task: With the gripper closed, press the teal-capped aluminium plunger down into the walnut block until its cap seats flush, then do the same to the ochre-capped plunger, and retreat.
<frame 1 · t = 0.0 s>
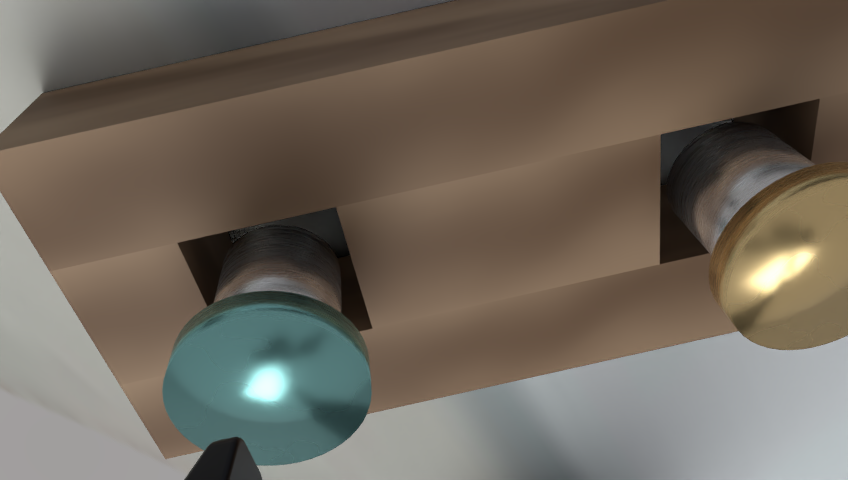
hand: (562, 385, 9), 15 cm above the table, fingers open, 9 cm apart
plunger teal: (276, 328, 19), point 6 cm above the table, slide at 3.5 cm
plunger ochre: (769, 218, 19), point 6 cm above the table, slide at 3.5 cm
walnut block: (479, 170, 24), on the table
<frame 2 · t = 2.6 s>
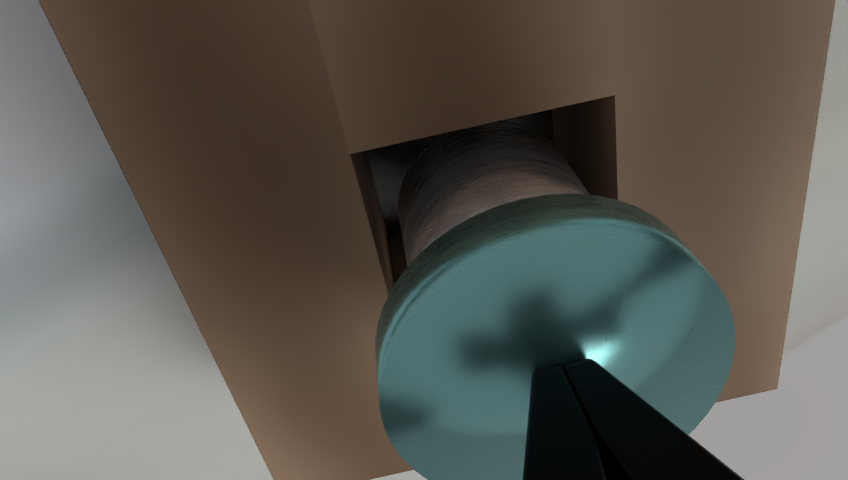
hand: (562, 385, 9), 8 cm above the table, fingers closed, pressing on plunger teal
plunger teal: (515, 277, 11), point 6 cm above the table, slide at 3.0 cm, touching gripper
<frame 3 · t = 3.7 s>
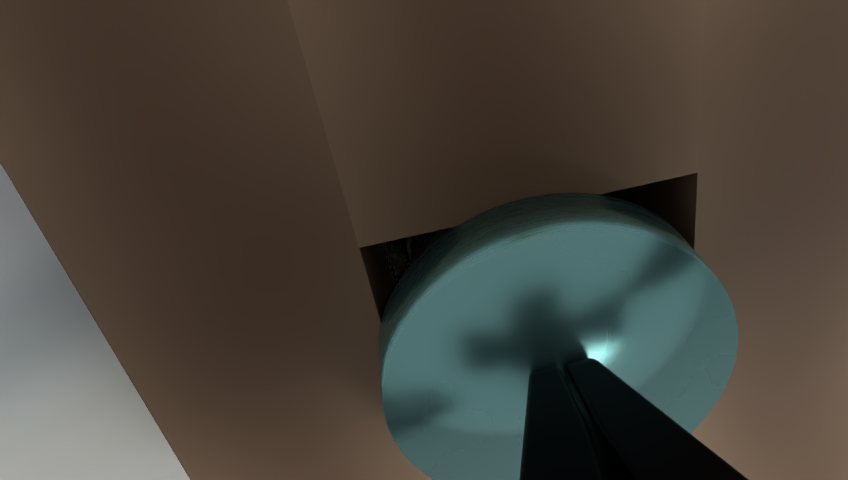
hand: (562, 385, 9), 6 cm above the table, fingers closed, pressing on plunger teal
plunger teal: (518, 276, 12), point 3 cm above the table, slide at 0.0 cm, touching gripper, walnut block
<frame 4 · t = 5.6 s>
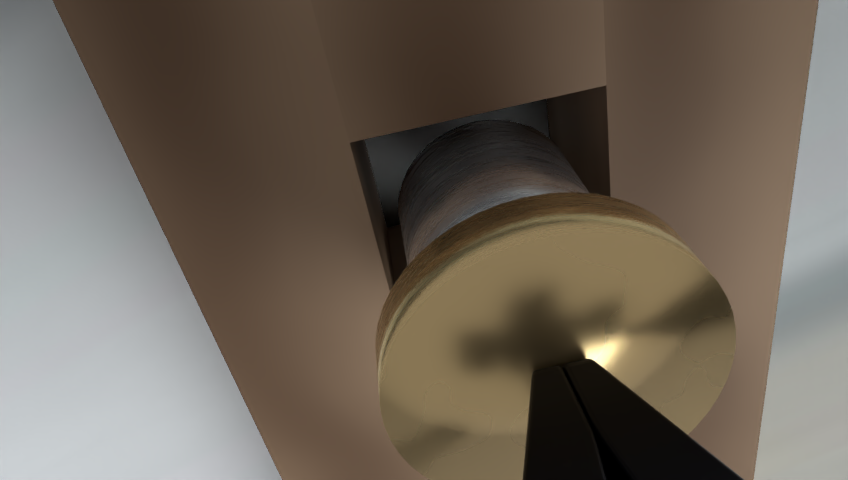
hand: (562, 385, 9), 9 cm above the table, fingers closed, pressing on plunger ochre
plunger ochre: (516, 277, 11), point 6 cm above the table, slide at 3.4 cm, touching gripper
walnut block: (493, 338, 21), on the table
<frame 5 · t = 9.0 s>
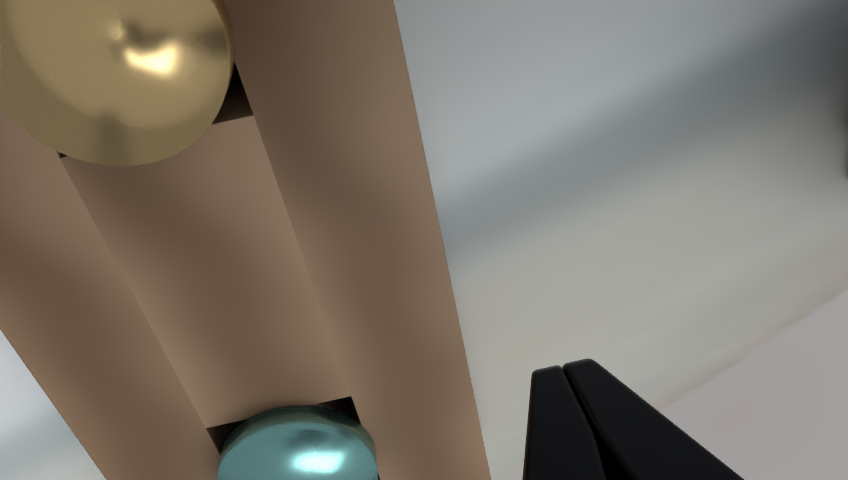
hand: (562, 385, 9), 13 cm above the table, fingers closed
plunger teal: (301, 422, 23), point 3 cm above the table, slide at 0.0 cm, touching walnut block
plunger ochre: (132, 19, 16), point 3 cm above the table, slide at 0.0 cm, touching walnut block
walnut block: (244, 211, 22), on the table
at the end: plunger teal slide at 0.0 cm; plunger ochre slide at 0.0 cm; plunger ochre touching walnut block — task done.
